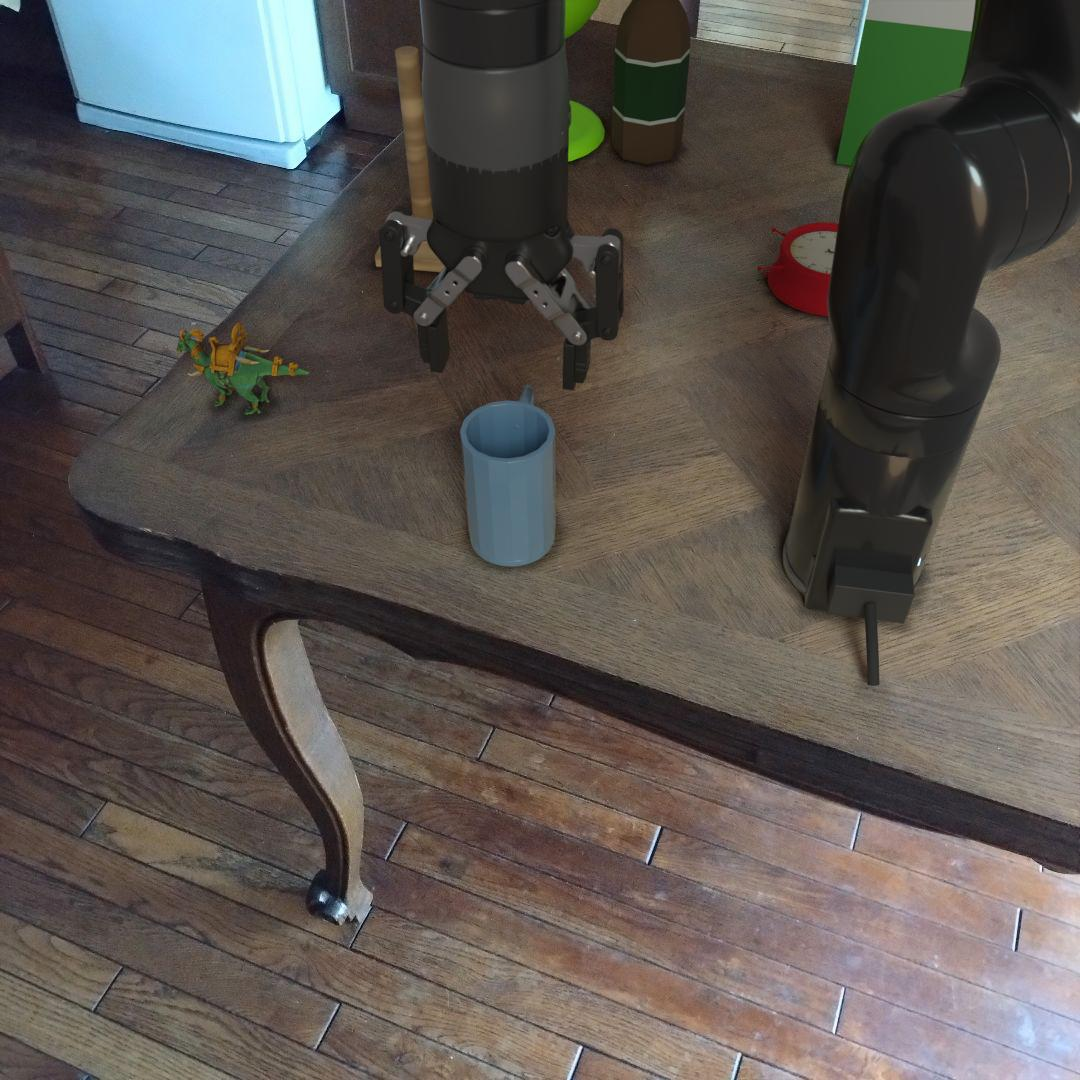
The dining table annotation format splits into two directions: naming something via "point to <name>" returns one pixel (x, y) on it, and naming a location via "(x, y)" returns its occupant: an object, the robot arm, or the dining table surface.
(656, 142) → the beer bottle
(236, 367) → the figurine
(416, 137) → the mug stand
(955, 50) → the hardback book
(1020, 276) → the dining table surface
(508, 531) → the mug
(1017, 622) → the dining table surface
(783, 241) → the alarm clock
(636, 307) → the dining table surface
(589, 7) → the wineglass
